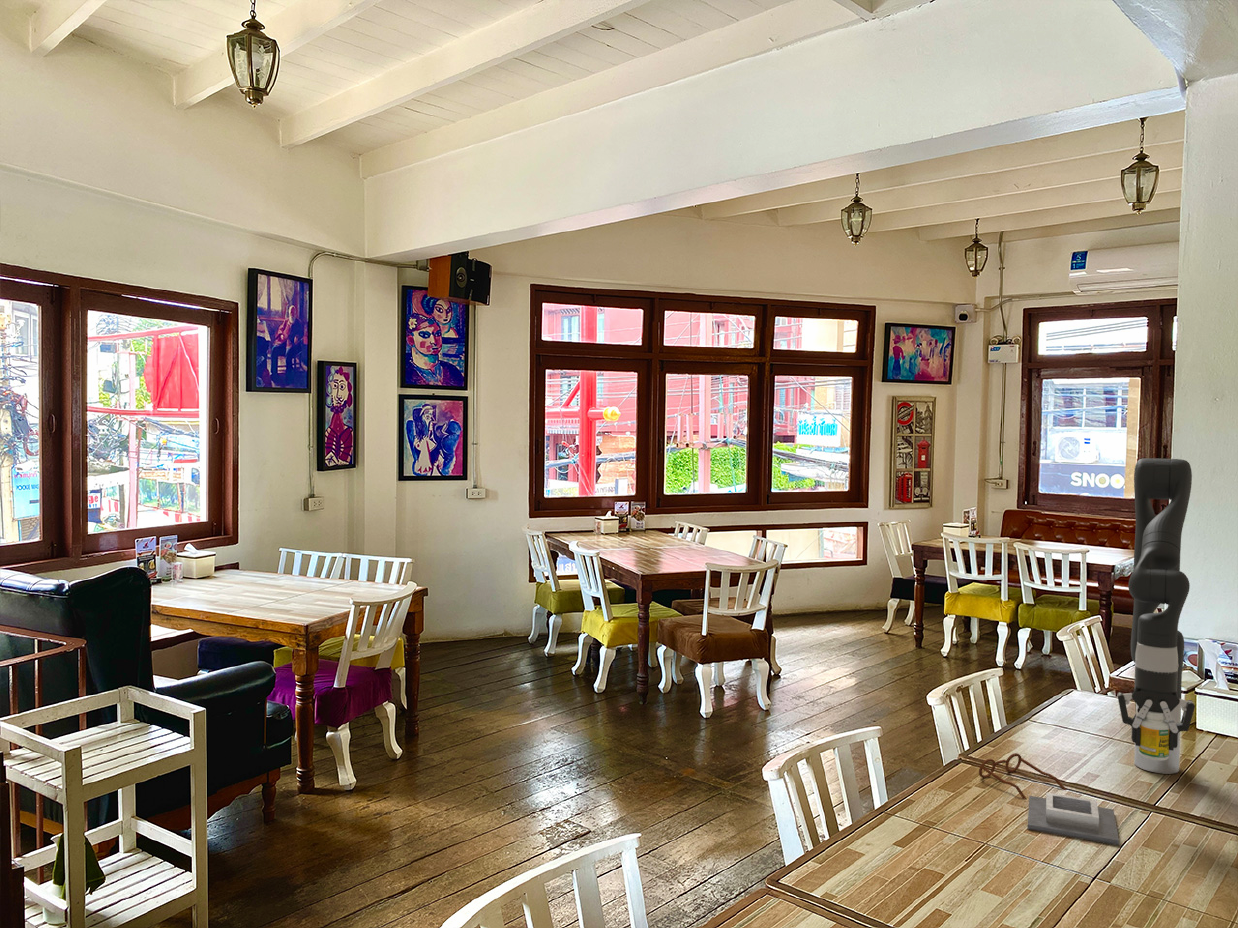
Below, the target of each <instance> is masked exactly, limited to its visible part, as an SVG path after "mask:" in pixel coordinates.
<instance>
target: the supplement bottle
mask: <svg viewBox="0 0 1238 928" xmlns="http://www.w3.org/2000/svg"><path fill="white" fill-rule="evenodd" d="M1165 719H1166V717H1165V715H1164V713H1158V712H1150V711H1148V712H1147V714H1146V716H1145V718H1144V719H1143V720H1142V722H1141V724H1140V746H1139V753H1140V755H1141V756H1143V757H1145V758H1147V759H1151V760H1157V761H1162V760H1167V759H1168V758H1169V737H1170V726H1169V724H1168V722H1167V721H1165Z"/></svg>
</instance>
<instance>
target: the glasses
mask: <svg viewBox="0 0 1238 928" xmlns="http://www.w3.org/2000/svg"><path fill="white" fill-rule="evenodd" d="M1014 757H1017V759H1018V761H1017V764H1016V766H1015V767H1013V768H1011V769H1009V763H1010V761H1011V760H1012V758H1014ZM990 762H991V763H992V767H991V770H990V769H988V768H986V764H988V763H990ZM1004 763H1005V771H1006V772H1008V773H1013V772H1016V771H1017V770H1018V769H1019V767H1020V766H1021V763H1024V764H1025V765H1027V766H1028V767H1030V768H1031V769H1032V770H1034V771H1036V772H1038V773H1039V774H1041V775H1043V776H1046V777H1048V778H1050V779H1053V780H1054V781H1055V782H1056V784H1058V786H1059V788H1060V789H1062V790H1064V791H1066V790H1067V788H1066V787H1065V786H1064V785H1063V783H1062V782H1061V781H1060V780H1059V779H1058V778H1057V776H1055V775H1053V774H1051V773H1049V772H1045V771H1043V770H1041V769H1040V768H1038V767H1036V766H1035V765H1034V764H1032V763H1030V762H1029V761H1027V760H1025V759H1024V758H1022V756H1021V754H1019V753H1018V752H1017V753H1016V752H1015V753H1012V754H1010V755H1009V756H1008V758H1006V759H1001V760H996V761H995V760H994V759H993V758H987V759H985V760H984V761H982V762H981V764H980V766H979V769H978V774H979V775H978V776H979V777H980V778H982V779H987V778H989V777H993V778H995V779H996V780H998V781H999V782H1001V783H1002V784H1004V785H1009V786H1011V787H1013V788H1015V789H1016V791H1017V792H1018V793H1019V796H1021V798H1022V799H1023V800H1027V798H1028V797H1026V796H1025V794H1024V792H1023V791H1022V790H1021V788H1020V787H1019V786H1018V785H1017V784H1016V783H1014V782H1011V781H1008V780H1005V779H1003V778H1001V777H1000V776H999V775H997V774H996V773H994V772H995V769H996V766H997V765H1001V764H1004ZM983 771H984V772H986V773H987V774H983Z"/></svg>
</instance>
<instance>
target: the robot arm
mask: <svg viewBox="0 0 1238 928" xmlns="http://www.w3.org/2000/svg"><path fill="white" fill-rule="evenodd" d="M1133 473H1134V474H1133V485H1134V486H1133V488H1134V509H1135V511H1134V512H1135V513H1134V514H1135V531H1134V533H1135V536H1134V547H1133V549H1134V552H1133V570H1132V572H1131V574H1130V577H1129V579H1128V591H1129V594H1130V596H1131V597H1132V598H1133V610H1132V611H1133V613H1132V623H1131V633H1130V634H1131V635H1130V636H1131V637H1130V655H1131V659H1132V662H1133V663H1134V688H1133V690H1132V692H1128V693H1123V692H1121V691H1119V692H1118V693H1117V694H1116V696H1117V700H1118V706H1119V710H1120V711H1119V712H1120V717H1121V719H1122V723H1123V724H1125V725H1128V726H1130V727H1131V742H1132V743H1134V753H1133V754H1134V759H1133V760H1134V761H1133V765H1135V766H1136V767H1138V768H1140V769H1142V770H1144V771H1148V772H1152V773H1157V774H1165V775H1168V774H1169V775H1172V774H1177V773H1179V772H1180V759H1181V758H1180V755H1181V732H1188V731H1189V730H1190V726H1191V723H1192V719H1193V715H1194V712H1195V708H1196V705H1195V703H1194V701H1193V700H1192V699H1187V700H1185V699H1182V682H1183V681H1182V678H1183V677H1182V676H1183V667H1184V666H1183V665H1184V656H1185V639H1184V635H1183V633H1182V632H1181V631H1180V630H1178V629H1179V623H1180V618H1181V613H1182V610H1183V607H1184V605H1185V603H1186V600H1187V598H1188V595H1189V592H1190V587H1191V585H1190V581H1189V578H1188V577H1187V575H1186V574H1185V573H1184V572H1182V571H1181V550H1182V549H1181V547H1182V546H1181V545H1182V534H1183V533H1182V532H1183V528H1184V523H1185V520H1186V517H1187V516H1186V515H1187V511H1188V507H1189V501H1190V497H1191V492H1192V491H1191V490H1192V485H1193V484H1192V483H1193V481H1192V480H1193V473H1192V467H1191V464H1190V462H1188V460H1185V459H1180V458H1159V457H1158V458H1155V457H1154V458H1152V457H1151V458H1150V457H1149V458H1140V459H1138V460H1137V462H1136V463H1135V466H1134V472H1133ZM1151 500H1168V501H1170V502H1169V503H1168V504H1167V506H1166V507H1165V508H1163V510H1162V511H1161V512H1159V513H1158V514H1157V515H1156V513H1155V510H1154V508H1153V505H1152V501H1151ZM1160 605H1166V606H1167V607H1166V609H1164V610H1163V611H1159V612H1155V611H1156V610H1157V609H1158V607H1159V606H1160ZM1131 700H1133V701H1134V702H1135V713H1134V715H1133V717H1130V716H1129V713H1128V710H1127V705H1129V704H1130V703H1131ZM1148 711H1150V712H1158V713H1164V715H1165V717H1166V719H1165V721H1167V722H1168V724H1169V726H1170V737H1169V758H1168V759H1167V760H1162V761H1157V760H1151V759H1147V758H1145V757H1143V756H1141V755H1140V753H1139V746H1140V724H1141V722H1142V720H1143V719H1144V718H1145V716H1146V714H1147V712H1148ZM1182 711H1183V712H1182Z"/></svg>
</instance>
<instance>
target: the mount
mask: <svg viewBox="0 0 1238 928" xmlns="http://www.w3.org/2000/svg"><path fill="white" fill-rule="evenodd" d="M1045 794H1046V795H1045V797H1046V798H1045V797H1041V796H1034V795H1029V796H1028V811H1027V812H1028V813H1027V830H1030V831H1035V832H1042V833H1045V834H1046V833H1047V834H1052V835H1057V836H1062V837H1069V838H1075V839H1079V840H1085V841H1091V842H1096V843H1101V844H1102V843H1103V844H1107V845H1113V846H1120V839H1119V833H1118V826H1117V822H1116V817H1115V816H1116V815H1115V810H1114V809H1112V808H1107V807H1101V806H1098V800H1096V799H1089V798H1083V797H1077V796H1072V795H1065V794H1060V793H1059V794H1058V793H1055V792H1054V793H1053V792H1046V793H1045Z"/></svg>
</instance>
